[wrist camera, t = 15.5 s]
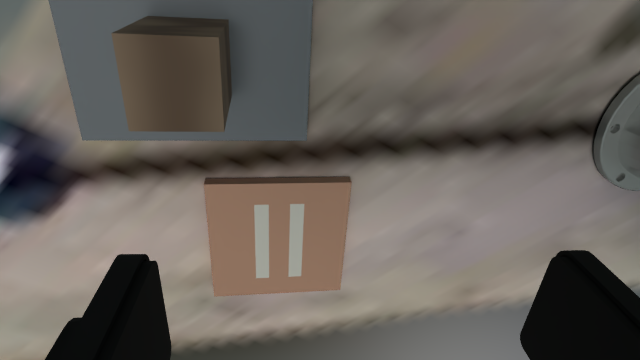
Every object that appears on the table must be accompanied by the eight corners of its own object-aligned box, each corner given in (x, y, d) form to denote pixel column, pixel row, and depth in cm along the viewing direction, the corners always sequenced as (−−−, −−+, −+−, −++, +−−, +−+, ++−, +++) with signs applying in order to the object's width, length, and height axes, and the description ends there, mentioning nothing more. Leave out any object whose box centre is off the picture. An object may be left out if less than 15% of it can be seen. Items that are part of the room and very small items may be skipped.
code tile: (349, 176, 34) (351, 182, 34) (338, 282, 40) (340, 289, 39) (205, 178, 33) (203, 184, 32) (215, 288, 38) (214, 296, 38)
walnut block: (228, 19, 26) (218, 37, 20) (231, 95, 28) (224, 131, 22) (147, 15, 25) (111, 33, 19) (157, 93, 28) (128, 131, 21)
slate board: (311, -38, 26) (314, -38, 25) (304, 133, 32) (306, 140, 31) (47, -55, 24) (34, -56, 23) (90, 132, 30) (82, 140, 28)
